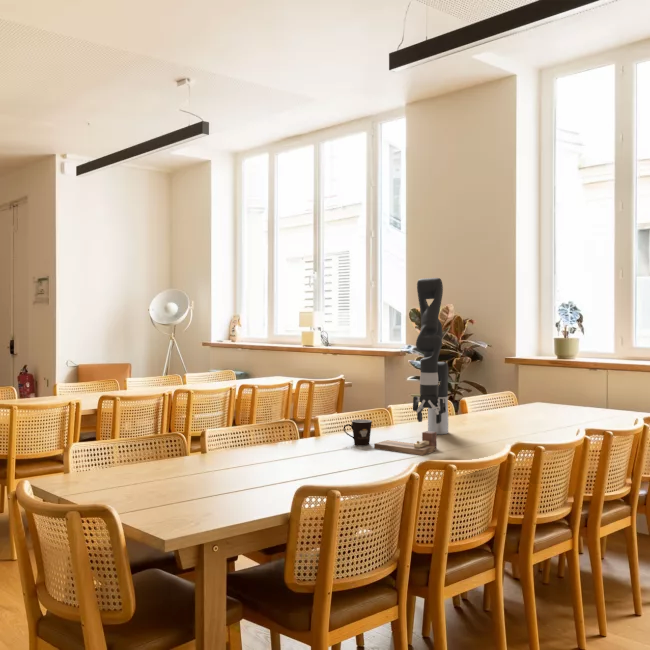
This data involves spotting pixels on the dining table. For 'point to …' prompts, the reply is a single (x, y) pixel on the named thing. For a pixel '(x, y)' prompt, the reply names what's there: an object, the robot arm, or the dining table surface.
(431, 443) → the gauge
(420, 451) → the plank
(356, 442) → the coffee mug
